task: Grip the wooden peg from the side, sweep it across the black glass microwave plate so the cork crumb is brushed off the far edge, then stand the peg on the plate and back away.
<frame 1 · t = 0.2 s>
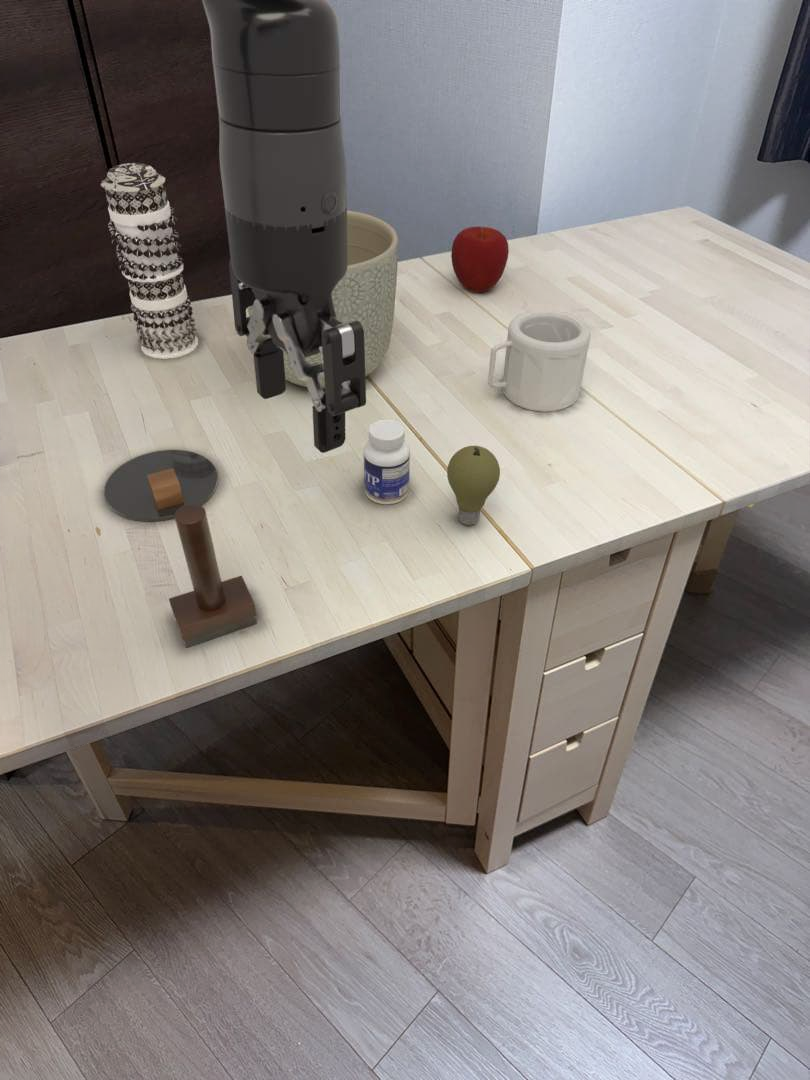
hand: (299, 419, 57), 24 cm above the table, tool pointing down, fingers open, 8 cm apart
pill bottle: (387, 492, 88), on the table
apple: (476, 289, 129), on the table
light bulb: (468, 523, 84), on the table
planter: (326, 369, 108), on the table
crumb: (168, 499, 85), resting on plate
mug: (530, 395, 104), on the table
decorative candle: (170, 346, 113), on the table
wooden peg: (216, 621, 73), on the table
plate: (162, 485, 88), on the table
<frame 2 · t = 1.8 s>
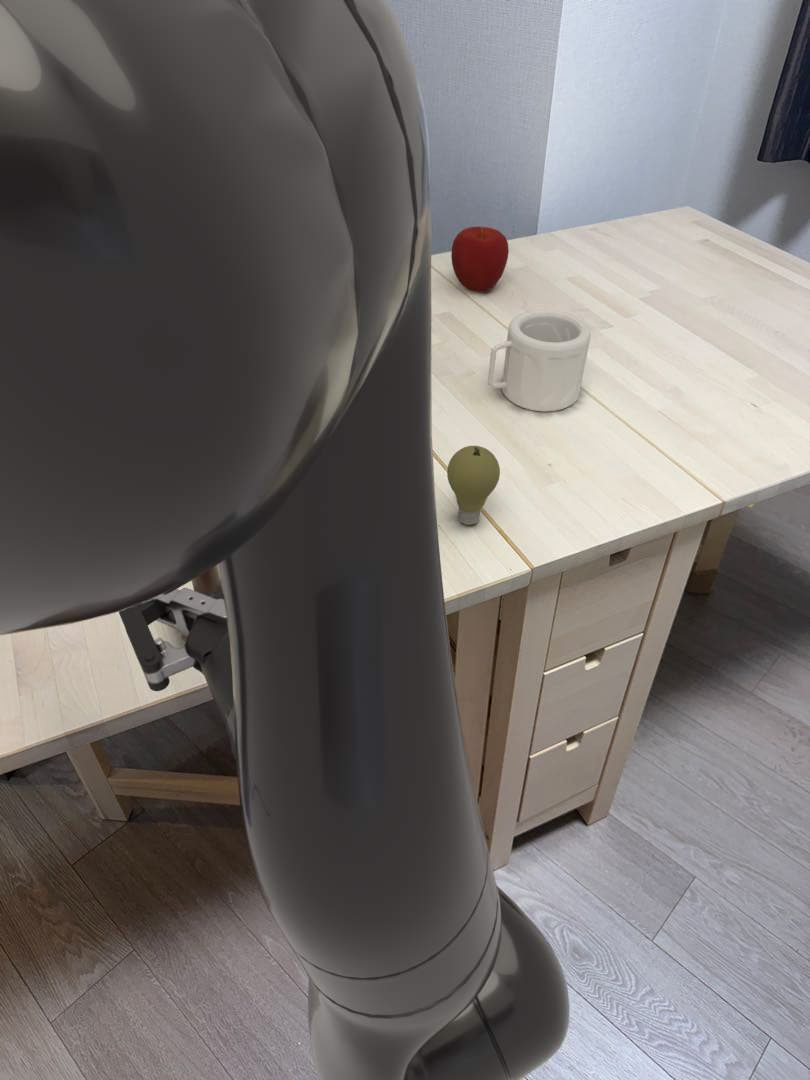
hand: (210, 537, 52), 20 cm above the table, tool horizontal, fingers open, 8 cm apart
nothing on the table moved.
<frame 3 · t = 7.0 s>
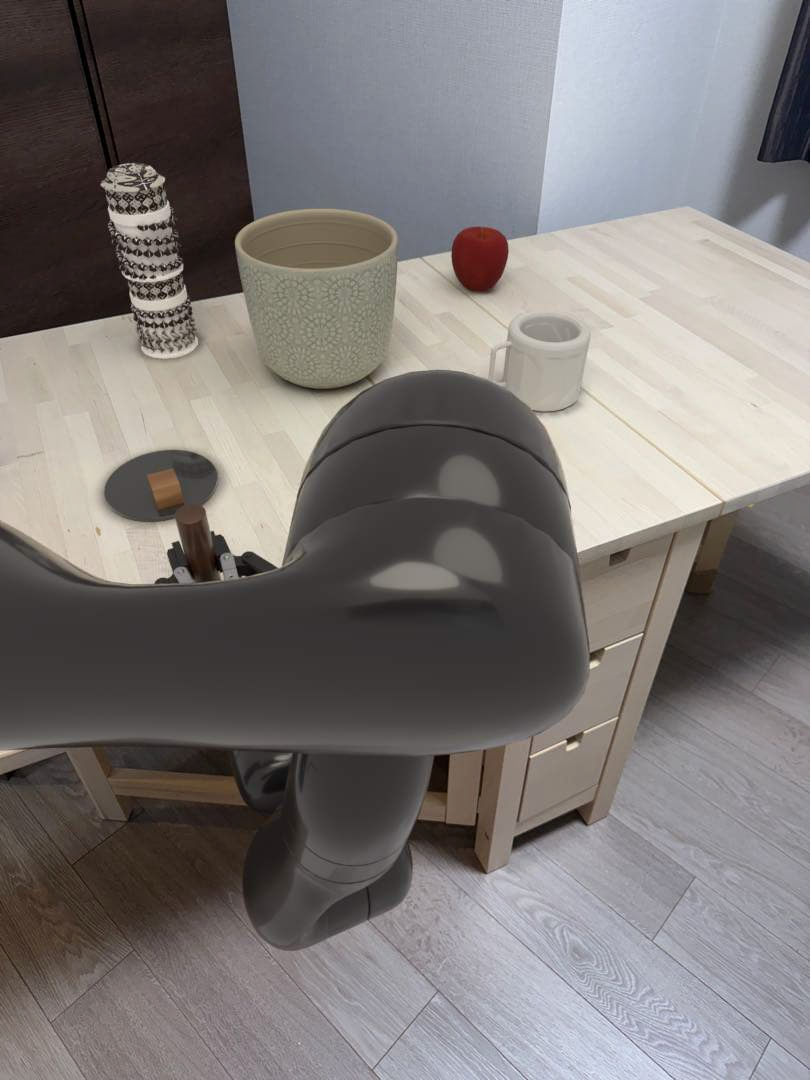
hand: (193, 543, 69), 8 cm above the table, tool horizontal, fingers closed on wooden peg, 2 cm apart
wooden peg: (216, 621, 73), on the table, touching gripper
everything else where it was.
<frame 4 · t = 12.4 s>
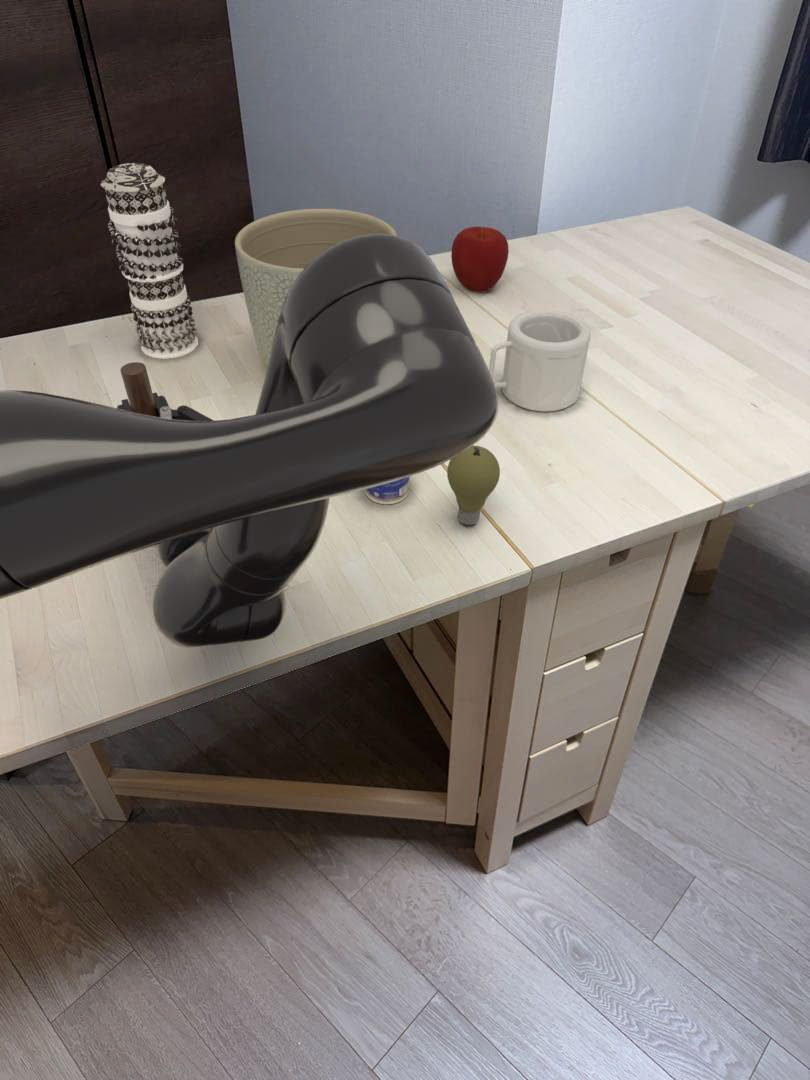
hand: (140, 403, 84), 9 cm above the table, tool horizontal, fingers closed on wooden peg, 2 cm apart
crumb: (154, 461, 91), point 1 cm above the table, touching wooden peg
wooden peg: (161, 473, 88), point 1 cm above the table, touching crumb, gripper
everything else where it was.
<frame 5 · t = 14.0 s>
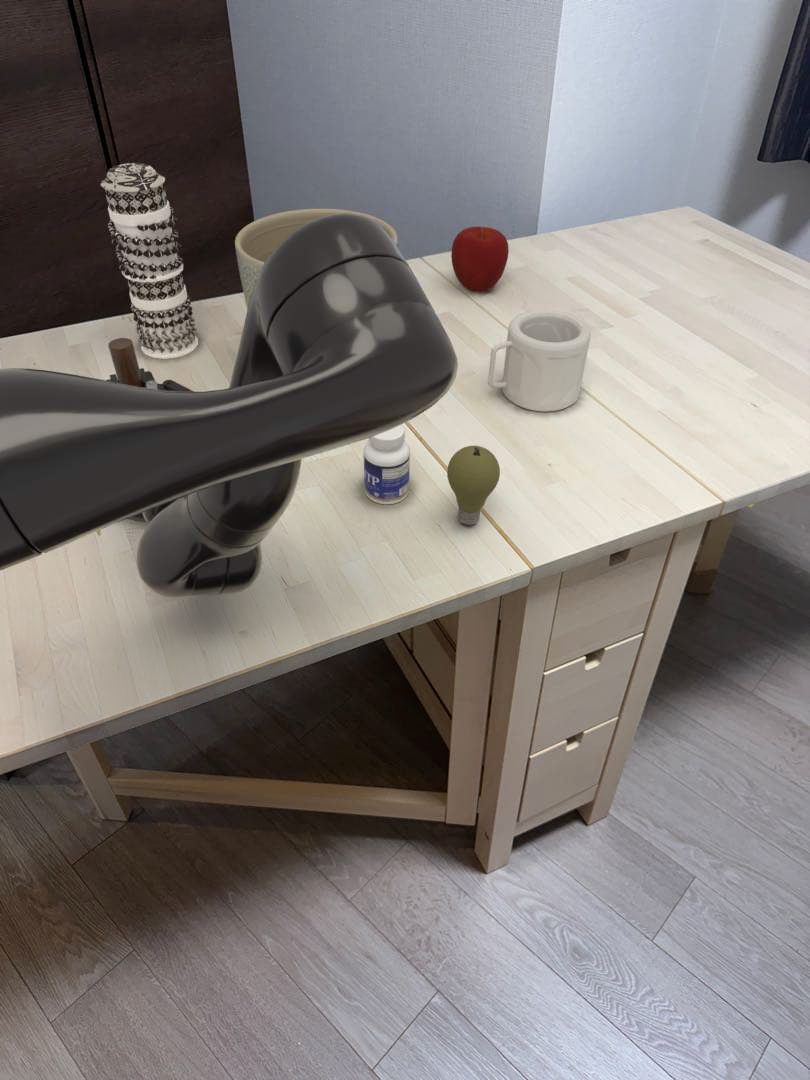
hand: (128, 378, 88), 9 cm above the table, tool horizontal, fingers closed on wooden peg, 2 cm apart
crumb: (144, 438, 95), on the table, touching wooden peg
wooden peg: (148, 446, 92), point 1 cm above the table, touching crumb, gripper
everything else where it was.
when the fingers open (9 cm above the table, at t = 16.2 s): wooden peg stays where it is, resting on plate.
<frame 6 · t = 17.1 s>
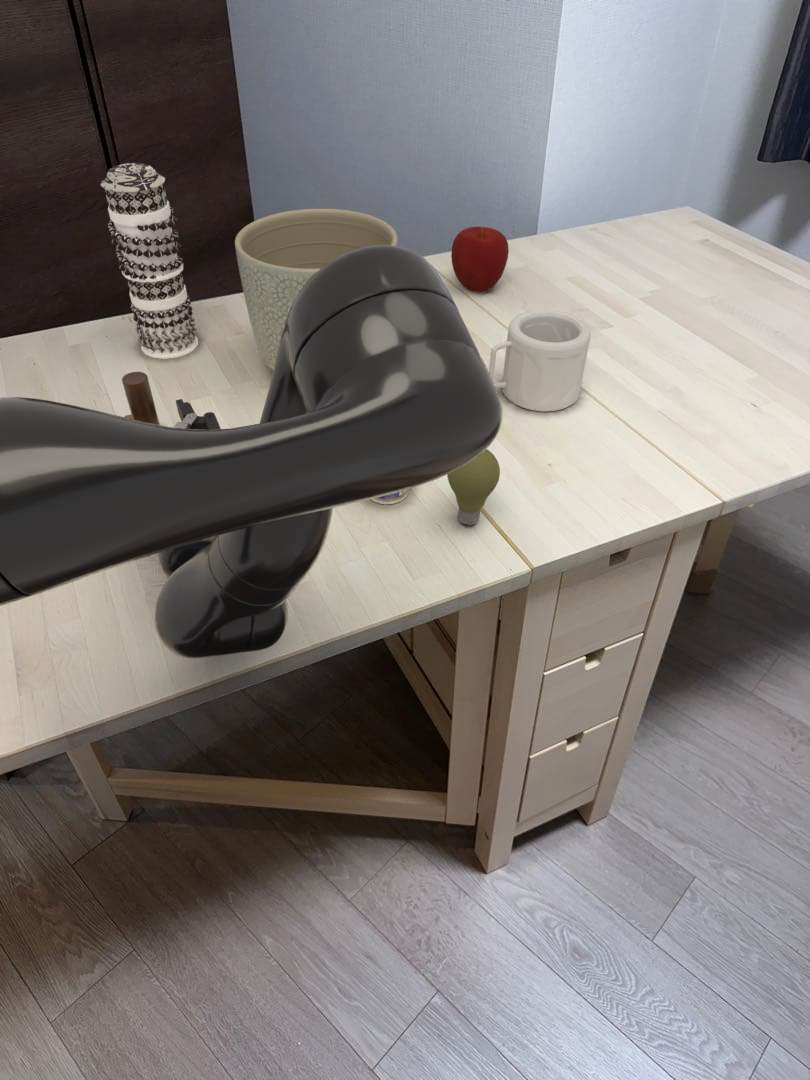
hand: (141, 415, 83), 9 cm above the table, tool horizontal, fingers open, 8 cm apart
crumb: (144, 438, 95), on the table
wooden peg: (162, 482, 88), point 1 cm above the table, touching plate
everything else where it was.
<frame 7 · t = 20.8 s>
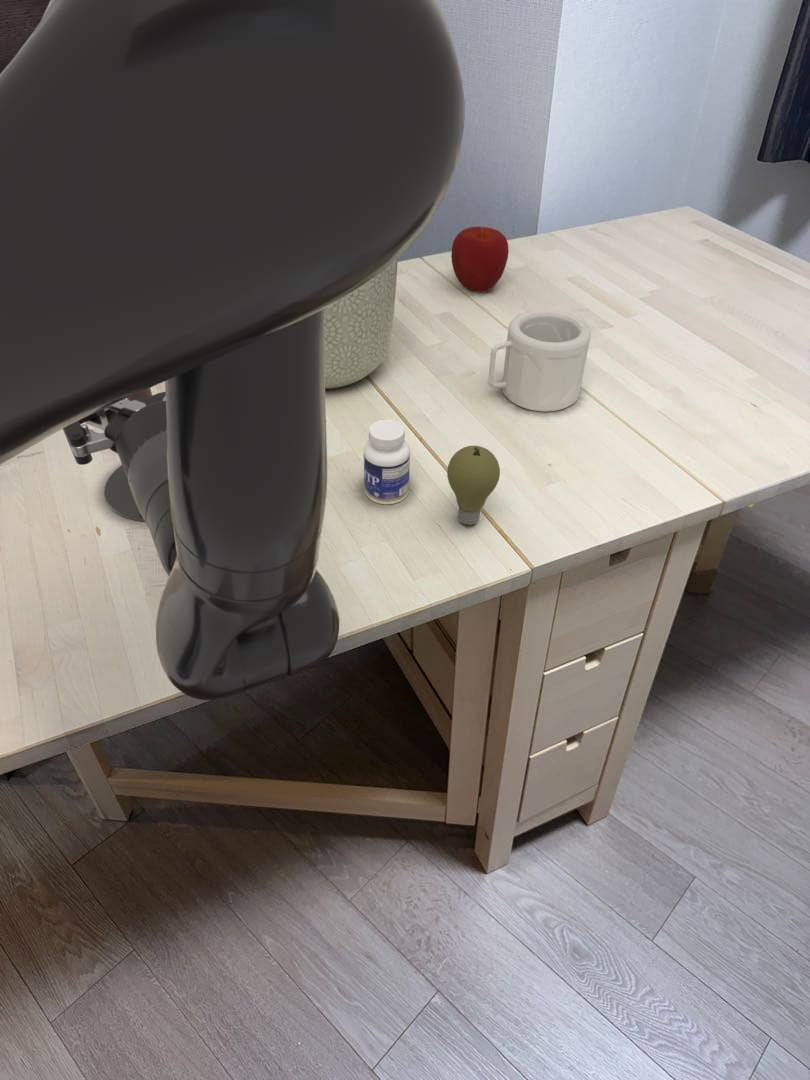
hand: (136, 371, 66), 22 cm above the table, tool horizontal, fingers open, 8 cm apart
nothing on the table moved.
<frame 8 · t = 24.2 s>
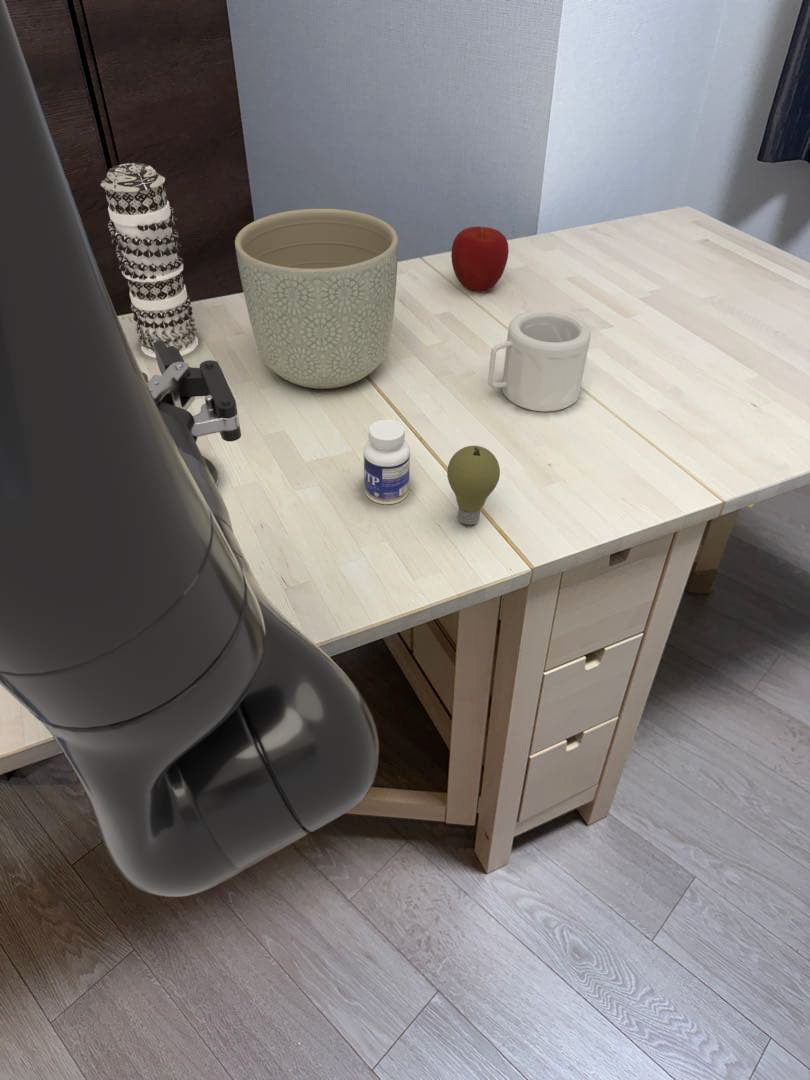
hand: (95, 366, 50), 30 cm above the table, tool horizontal, fingers open, 8 cm apart
nothing on the table moved.
at the end: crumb inside the target area on the table beside the plate (2.8 cm from its centre), on the table; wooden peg inside the target area on the plate (0.1 cm from its centre), point 0.5 cm above the plate's base; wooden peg tilted 0° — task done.
